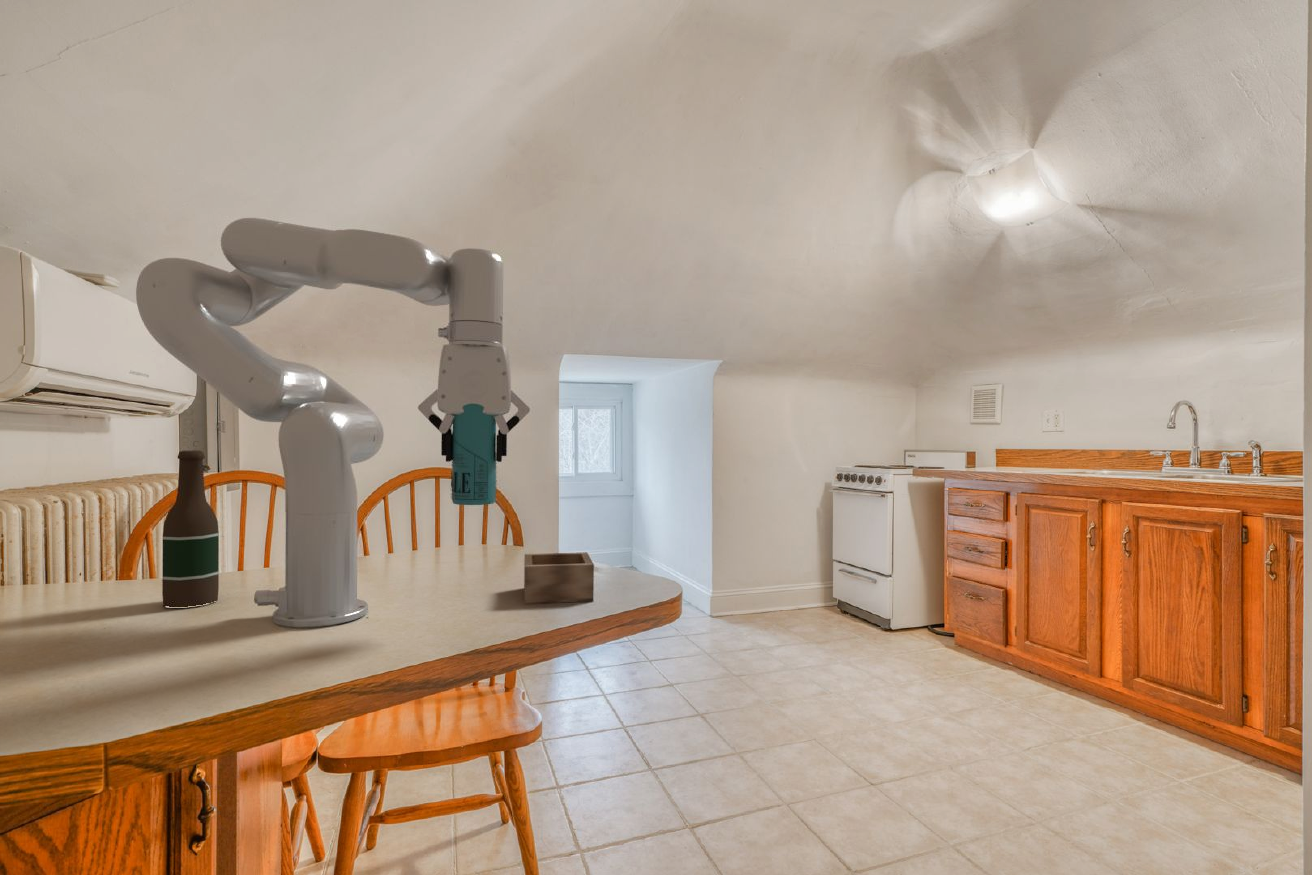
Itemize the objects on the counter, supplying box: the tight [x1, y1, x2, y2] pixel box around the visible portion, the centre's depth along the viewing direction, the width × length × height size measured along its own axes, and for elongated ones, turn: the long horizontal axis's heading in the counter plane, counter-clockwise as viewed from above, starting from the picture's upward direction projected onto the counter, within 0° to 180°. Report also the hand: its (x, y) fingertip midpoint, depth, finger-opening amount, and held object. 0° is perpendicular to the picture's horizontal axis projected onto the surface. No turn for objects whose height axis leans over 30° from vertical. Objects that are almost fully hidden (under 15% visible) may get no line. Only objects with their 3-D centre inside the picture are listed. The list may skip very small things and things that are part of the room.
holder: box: [523, 551, 595, 605], centre depth 115 cm, size 11×11×6 cm
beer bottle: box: [161, 449, 220, 607], centre depth 106 cm, size 8×8×24 cm
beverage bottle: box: [450, 403, 498, 506], centre depth 98 cm, size 6×7×20 cm
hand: (474, 460), depth 99 cm, fingers closed on beverage bottle, 6 cm apart
